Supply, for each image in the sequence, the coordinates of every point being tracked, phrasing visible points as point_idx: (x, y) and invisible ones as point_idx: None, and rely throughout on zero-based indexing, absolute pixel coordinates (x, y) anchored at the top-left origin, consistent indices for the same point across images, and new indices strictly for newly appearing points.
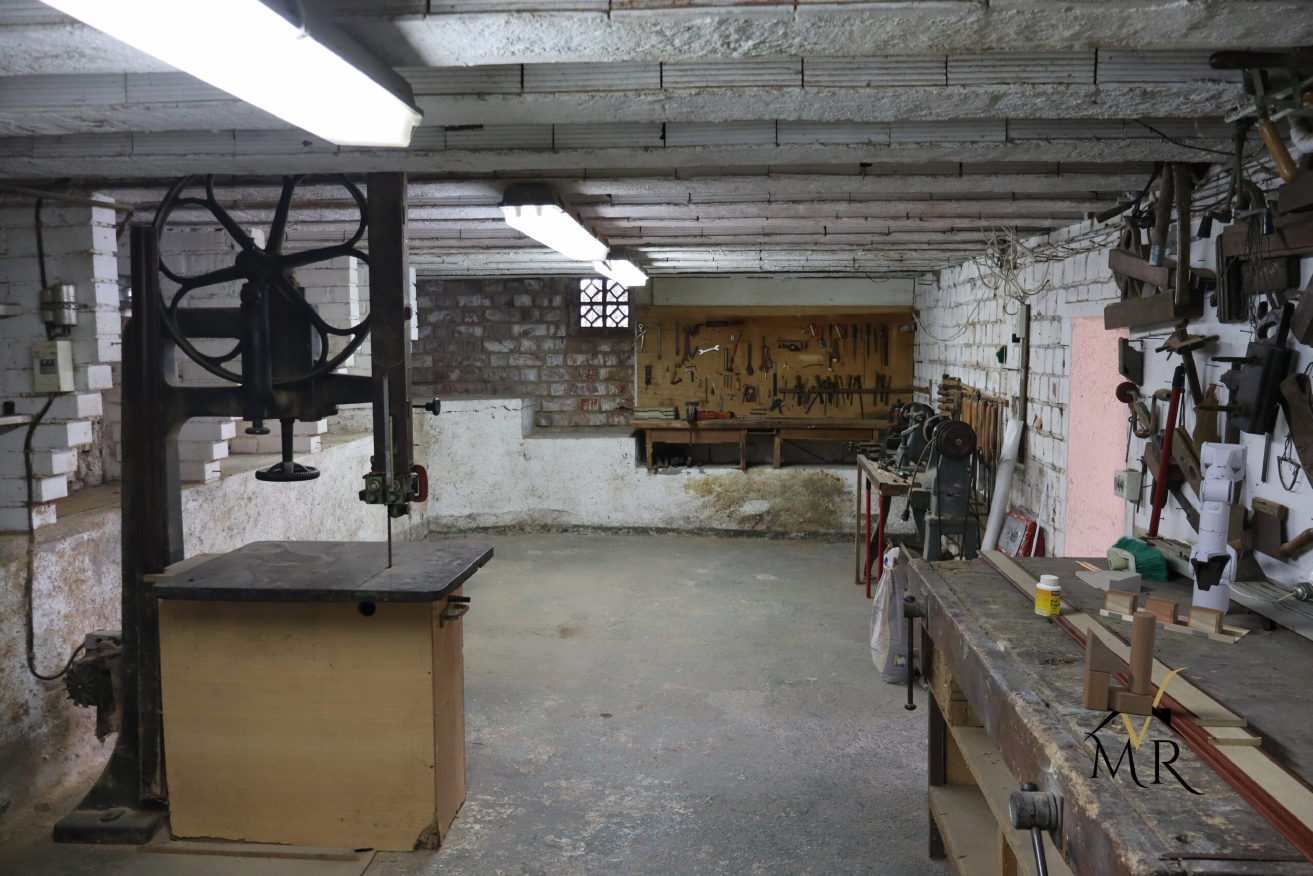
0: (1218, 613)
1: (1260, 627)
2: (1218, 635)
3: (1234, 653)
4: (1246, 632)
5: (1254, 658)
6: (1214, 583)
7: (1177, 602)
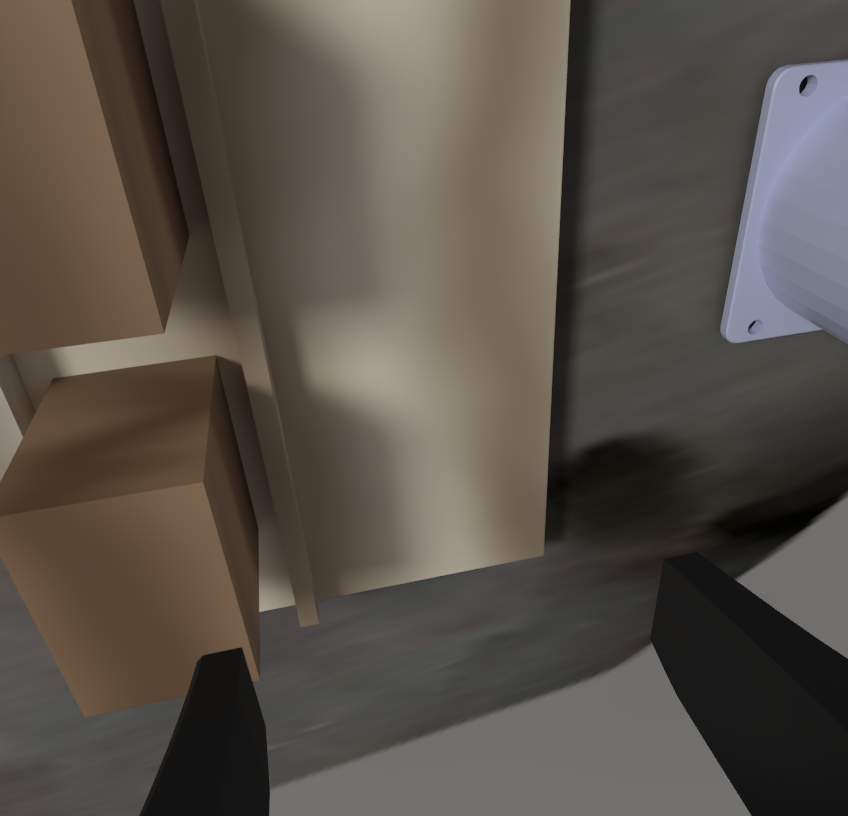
0: (99, 706)
1: (762, 490)
2: None
3: (15, 655)
4: (460, 569)
5: (41, 725)
6: (668, 637)
7: (110, 333)
